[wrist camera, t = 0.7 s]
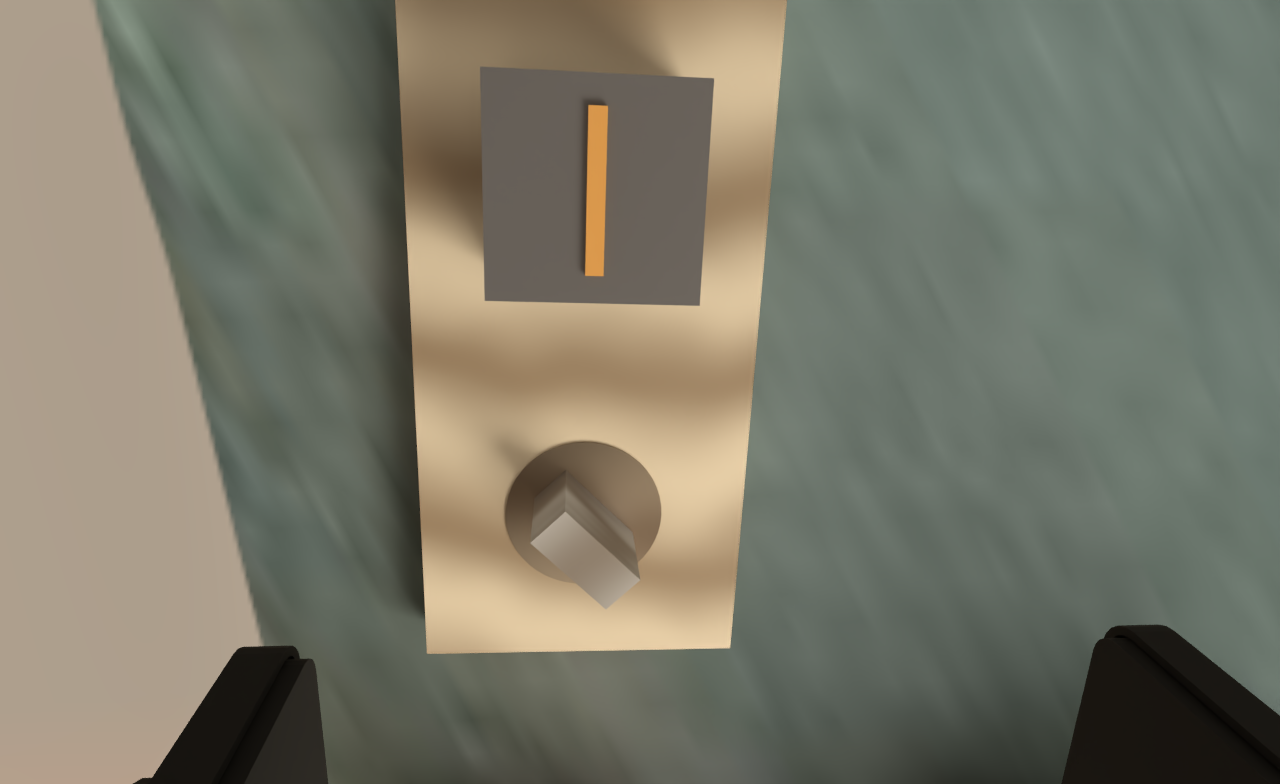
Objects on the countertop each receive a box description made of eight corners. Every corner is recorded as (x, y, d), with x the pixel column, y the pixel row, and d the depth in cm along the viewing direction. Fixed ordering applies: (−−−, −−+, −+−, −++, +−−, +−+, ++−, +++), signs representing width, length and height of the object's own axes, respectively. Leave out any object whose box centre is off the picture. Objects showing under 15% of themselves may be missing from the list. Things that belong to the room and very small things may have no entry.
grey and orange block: (497, 80, 25) (478, 65, 20) (686, 89, 25) (715, 77, 20) (499, 271, 26) (483, 302, 22) (676, 276, 27) (700, 307, 22)
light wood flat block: (406, -20, 25) (364, -62, 20) (771, 2, 26) (821, -32, 21) (435, 623, 33) (409, 716, 27) (720, 619, 34) (748, 707, 28)
